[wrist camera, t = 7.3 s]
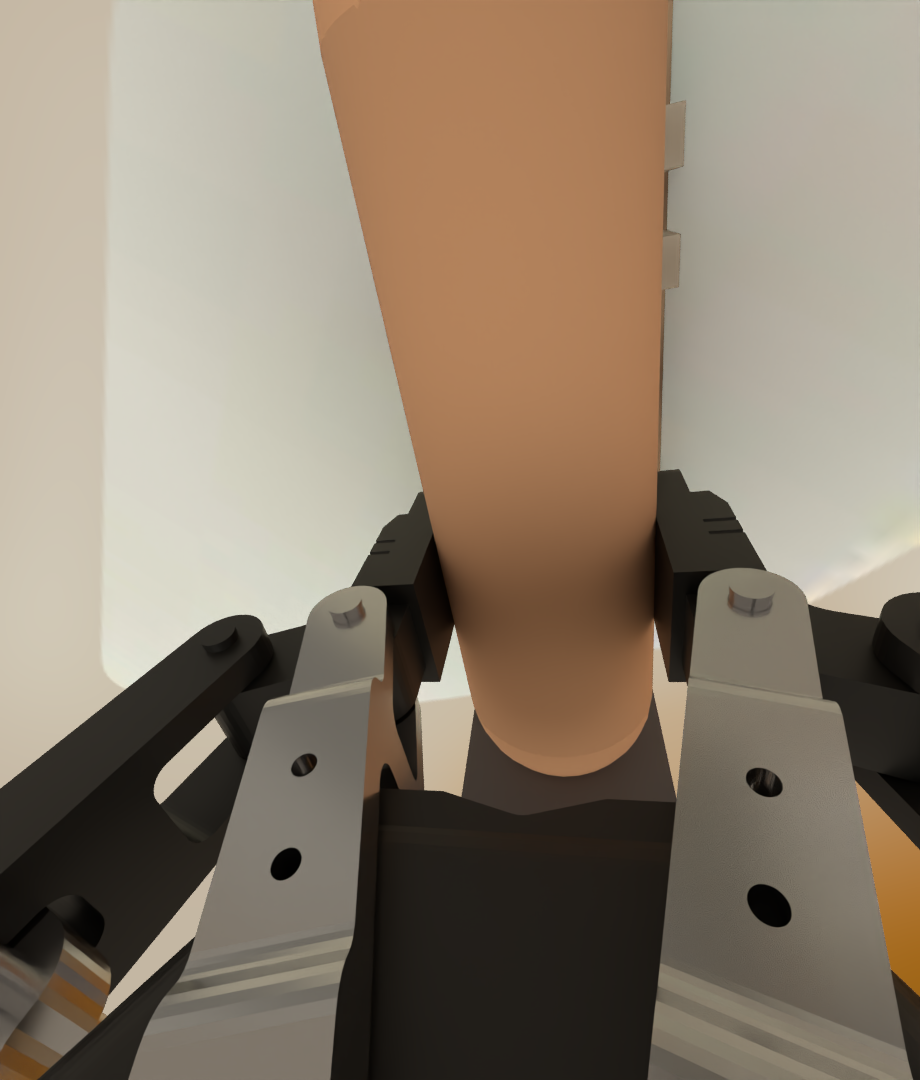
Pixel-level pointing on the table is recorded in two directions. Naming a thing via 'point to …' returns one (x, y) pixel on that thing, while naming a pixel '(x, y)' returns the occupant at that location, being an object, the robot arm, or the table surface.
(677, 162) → the brown pegged board
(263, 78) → the table surface
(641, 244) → the tan rounded rod
